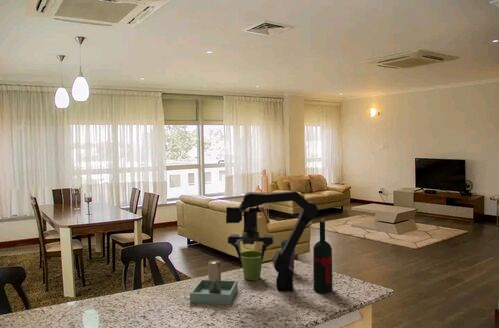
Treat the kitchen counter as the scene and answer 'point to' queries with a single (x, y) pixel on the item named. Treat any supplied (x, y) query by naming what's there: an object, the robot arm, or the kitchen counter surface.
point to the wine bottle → (322, 263)
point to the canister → (214, 277)
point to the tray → (203, 296)
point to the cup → (291, 255)
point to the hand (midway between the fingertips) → (251, 259)
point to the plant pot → (251, 264)
